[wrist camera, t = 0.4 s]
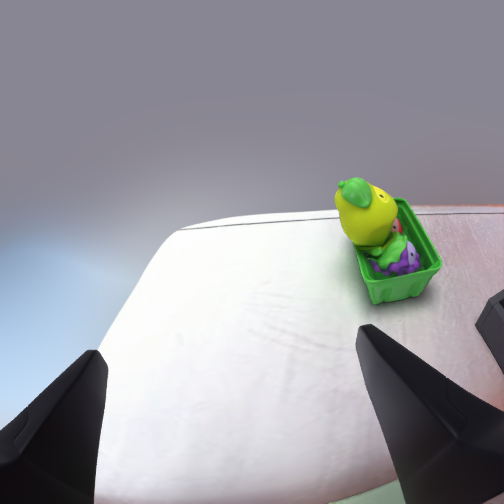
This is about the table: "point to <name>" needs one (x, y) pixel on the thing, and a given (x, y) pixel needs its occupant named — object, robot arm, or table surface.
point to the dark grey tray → (493, 326)
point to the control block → (377, 495)
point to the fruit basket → (386, 241)
